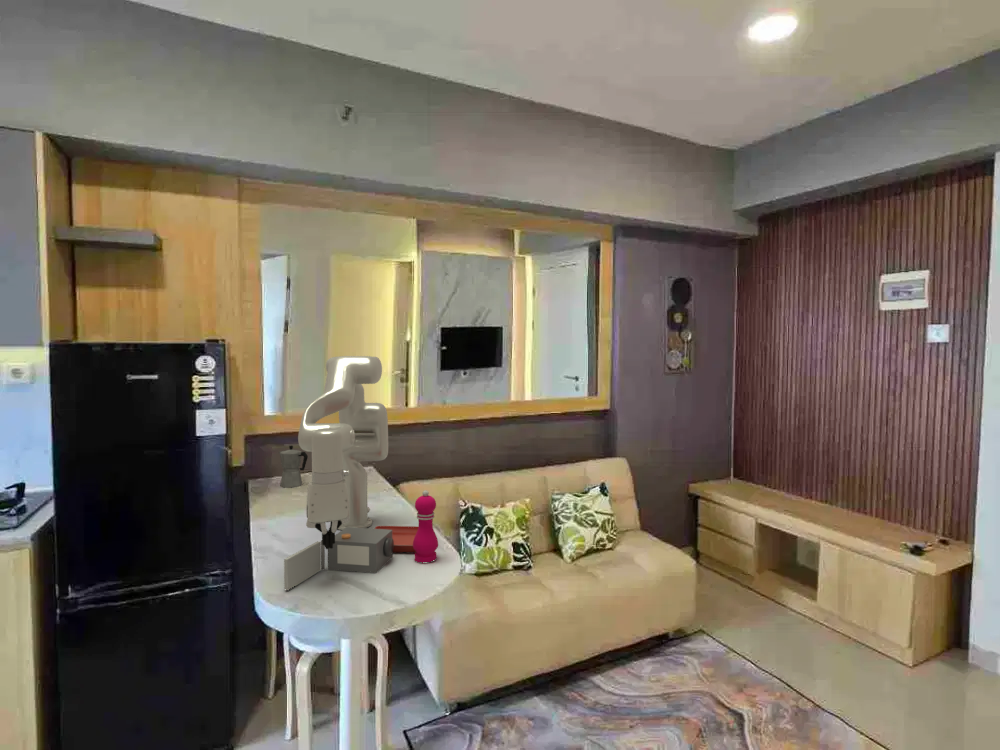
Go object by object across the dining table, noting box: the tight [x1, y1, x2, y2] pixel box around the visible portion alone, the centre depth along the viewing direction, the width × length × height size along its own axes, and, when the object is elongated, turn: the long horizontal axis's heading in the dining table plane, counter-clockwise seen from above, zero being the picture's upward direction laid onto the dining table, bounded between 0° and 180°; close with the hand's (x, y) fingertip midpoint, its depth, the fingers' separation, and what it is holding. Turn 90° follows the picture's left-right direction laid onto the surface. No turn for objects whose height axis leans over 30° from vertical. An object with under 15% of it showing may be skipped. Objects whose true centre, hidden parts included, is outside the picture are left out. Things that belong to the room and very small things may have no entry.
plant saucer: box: [374, 525, 418, 553], centre depth 171 cm, size 18×18×3 cm
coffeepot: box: [278, 445, 309, 489], centre depth 247 cm, size 15×9×18 cm, turn 70°
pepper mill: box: [413, 490, 439, 564], centre depth 158 cm, size 7×7×20 cm
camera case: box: [327, 527, 394, 574], centre depth 155 cm, size 12×15×9 cm
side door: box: [283, 539, 326, 591], centre depth 144 cm, size 2×15×8 cm, turn 163°
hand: (328, 546), depth 142 cm, fingers closed
